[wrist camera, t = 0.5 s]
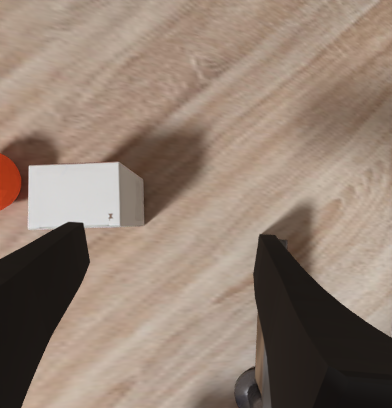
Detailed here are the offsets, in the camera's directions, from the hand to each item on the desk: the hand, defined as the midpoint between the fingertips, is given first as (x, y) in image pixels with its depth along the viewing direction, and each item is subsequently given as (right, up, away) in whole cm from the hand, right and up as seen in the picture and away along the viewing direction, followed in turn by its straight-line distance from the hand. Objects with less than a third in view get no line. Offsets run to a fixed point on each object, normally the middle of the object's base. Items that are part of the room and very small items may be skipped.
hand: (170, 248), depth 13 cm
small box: (-9, +2, +23) cm, 25 cm away
